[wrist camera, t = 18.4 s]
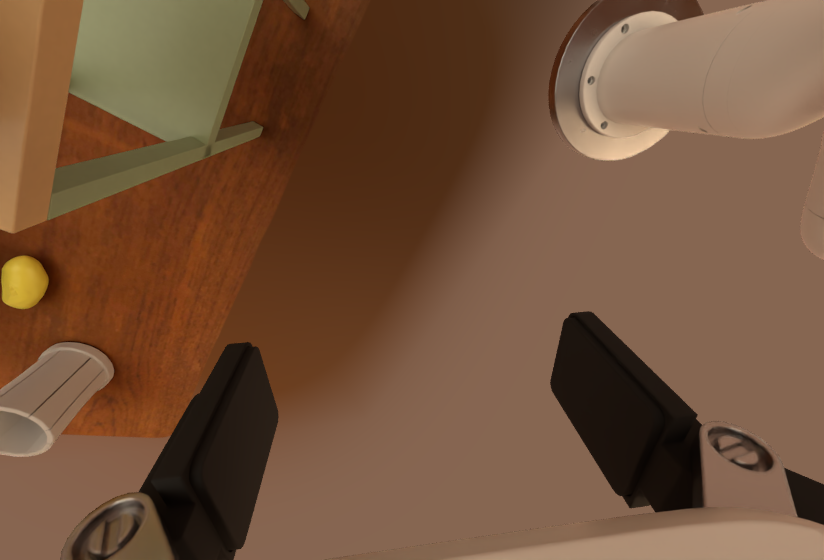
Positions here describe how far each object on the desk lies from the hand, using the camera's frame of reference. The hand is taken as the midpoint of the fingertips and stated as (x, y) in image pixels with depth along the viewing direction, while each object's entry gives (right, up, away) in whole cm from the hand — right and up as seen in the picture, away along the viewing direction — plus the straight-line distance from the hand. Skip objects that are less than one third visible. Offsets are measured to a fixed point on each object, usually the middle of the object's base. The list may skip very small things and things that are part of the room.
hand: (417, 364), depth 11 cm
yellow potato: (-48, +3, +34) cm, 59 cm away
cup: (-50, -10, +41) cm, 65 cm away
